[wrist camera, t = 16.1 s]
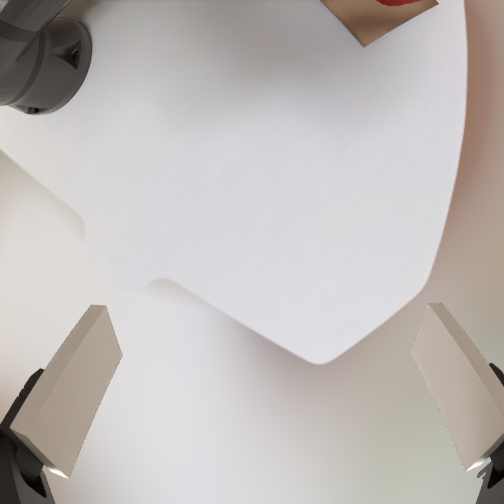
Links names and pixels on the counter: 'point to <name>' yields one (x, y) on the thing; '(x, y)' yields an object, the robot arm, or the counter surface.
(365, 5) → the walnut board
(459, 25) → the counter surface
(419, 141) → the counter surface
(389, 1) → the plastic cup
